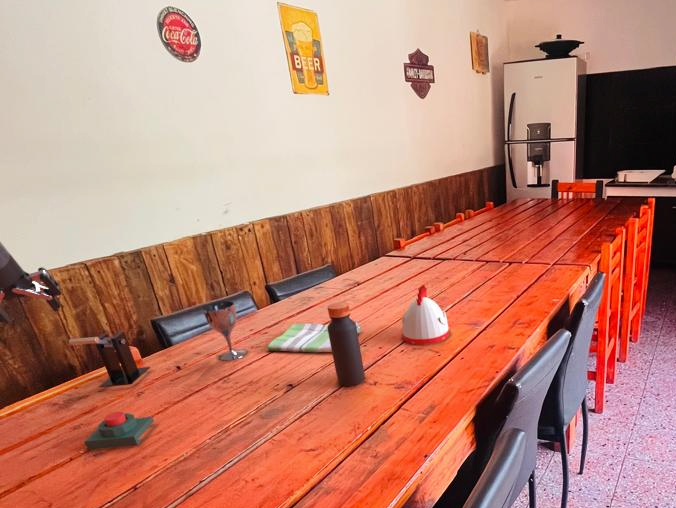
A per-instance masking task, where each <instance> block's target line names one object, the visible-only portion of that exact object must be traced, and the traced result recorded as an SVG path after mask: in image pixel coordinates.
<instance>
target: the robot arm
mask: <svg viewBox="0 0 676 508" xmlns="http://www.w3.org/2000/svg"><path fill="white" fill-rule="evenodd" d="M36 281H37V282H36ZM39 283H40V284H44V285H45V286H44V285H40V284H39ZM60 285H61V284H59V282H57V280H56V279H55V278H54V277H53V276H52V274H51V273H50V272H49V271H48V270H47V269H46V268H45V267H39V268H37V271H35V272H32V273H29V272H27V271H26V270H24V269H23V268H22V266H21V265H20V264H19V263H18V262H17V260H16V259H15V258H14V256H13V255H12V254H11V253H10V252H9V250H8V249H7V248H6V246H5V245H4V244H3V243H2V241H0V305H1V304H2V302H3V301H6V302H8V301H12V300H14V299H19V298H20V299H21V298H25V297H26V296H28V297H31V298H33V299H38V298H40V299H42V300H45V301H46V303H47V304H48V305H49V306H50V308H51V309H52V311H53V312H54V313H55V312H59V311H60V308H61V303H60V300H59V299H58V298H57V297H59V296H61V295H62V290H61V286H60ZM56 296H57V297H56ZM0 323H2V324H3V323H4V324H5V325H7V324H11V317H10V315H9V314H8V313H7V312H6V311H5V310H4V309H3V308H2V307H1V306H0Z"/></svg>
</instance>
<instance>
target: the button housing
mask: <svg viewBox="0 0 676 508" xmlns="http://www.w3.org/2000/svg"><path fill="white" fill-rule="evenodd" d="M124 415H125V417H126V421H125V422H124V423H122V424H120V425H117V426H114V427H107V425H106V423H105V421H104V420H102V421H101V422H100V423H99V424H98V425H97V428H96V429H95V431H93V432H92V433H91V434H90V435H89V436H88V437H87V438H86V439H85V440H84V441H83V443H84V445H85V447H86V449H87V450H88V451H93V450H102V449H112V448H122V447H130V446H131V447H132V446H139V444H140V443H141V442H142V441H143V440H144V439H142V438H141V437H142V436H143V434H145V432H146V431H147V430H148V429H149V428H150V427H151V425H152V424H153V423H154V421H155V420H154V418H153V416H146V417H145V416H144V417H136V416H135V415H134V414H133V413H124ZM150 431H151V430H150ZM150 431H149V432H150ZM149 432H148V433H149ZM140 438H141V439H140Z"/></svg>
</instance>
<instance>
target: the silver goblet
mask: <svg viewBox="0 0 676 508" xmlns="http://www.w3.org/2000/svg"><path fill="white" fill-rule="evenodd" d="M202 312H203V315H204V317H205V318H204V319H205V320H206V322H207V324H208V326H209V327H210V328H211V329H212V330H214V332H216V333H218V334H220V335H222V336H223V337H224V339H225V342H226V343H227V346H228V348H229V351H226V352H224V353H222V354H221V355H219V357H218V359H219V360H221V361H233V360H238V359H240V358H242V357H244V356H245V355H246V353H247V352H246V350H243V349H233V346H232V342H231V334H232V332H233V331H234V328H235V327H236V324H237V310H236V306H235V303H234V302H233V301H228V300H227V301H217V302H213V303H209V304H206V305H205V306H203V307H202Z"/></svg>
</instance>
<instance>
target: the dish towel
mask: <svg viewBox="0 0 676 508" xmlns="http://www.w3.org/2000/svg"><path fill="white" fill-rule="evenodd" d="M354 322H355V321H354ZM355 323H356V327H357V333H358V334H360V333H361V332H362V329H361V327H360V324H359V323H360V322H357V321H356V322H355ZM329 324H330V323H328V324H319V323H293V324H291V325H290V326H289V327H288V328H287V330H285V332H284V333H282V334H281V335H279V336H277V337H275V338H274V339H272V340H271V341H270V342H269V343H268V345H267V346H266V350H268V351H274V352H276V351H277V352H292V353H296V352H301V353H303V352H304V353H332V349H331V344H330V339H329V334H328V325H329Z"/></svg>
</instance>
